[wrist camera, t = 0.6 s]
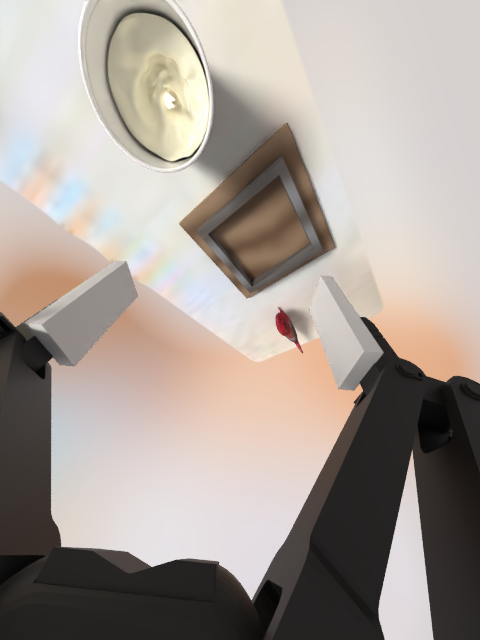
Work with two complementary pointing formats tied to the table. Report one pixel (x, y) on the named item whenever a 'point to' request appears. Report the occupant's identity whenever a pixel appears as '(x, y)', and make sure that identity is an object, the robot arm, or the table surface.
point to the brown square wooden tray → (262, 218)
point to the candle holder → (147, 80)
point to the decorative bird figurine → (286, 328)
